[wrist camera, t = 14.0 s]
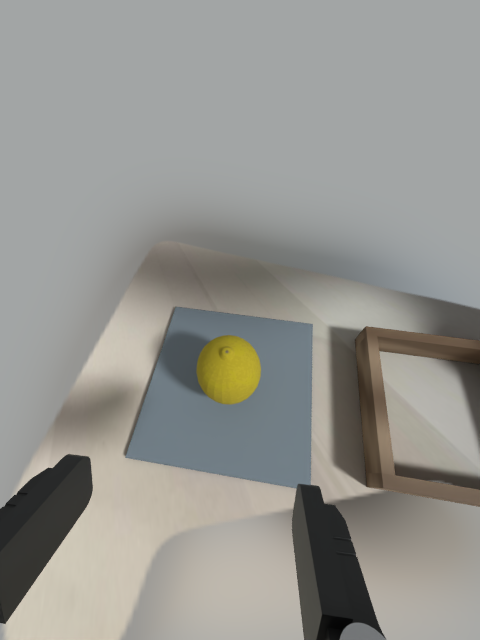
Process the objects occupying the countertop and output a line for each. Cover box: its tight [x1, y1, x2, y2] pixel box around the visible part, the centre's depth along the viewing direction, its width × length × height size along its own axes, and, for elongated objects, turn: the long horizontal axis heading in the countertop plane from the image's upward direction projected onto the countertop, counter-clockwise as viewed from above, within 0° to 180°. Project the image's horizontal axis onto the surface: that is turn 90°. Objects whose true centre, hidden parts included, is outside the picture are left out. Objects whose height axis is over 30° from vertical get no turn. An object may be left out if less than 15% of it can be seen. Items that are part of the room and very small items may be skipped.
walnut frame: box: [355, 326, 480, 507], centre depth 24 cm, size 14×14×3 cm
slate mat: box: [125, 307, 313, 488], centre depth 26 cm, size 16×16×1 cm
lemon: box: [196, 335, 261, 405], centre depth 23 cm, size 6×6×8 cm
